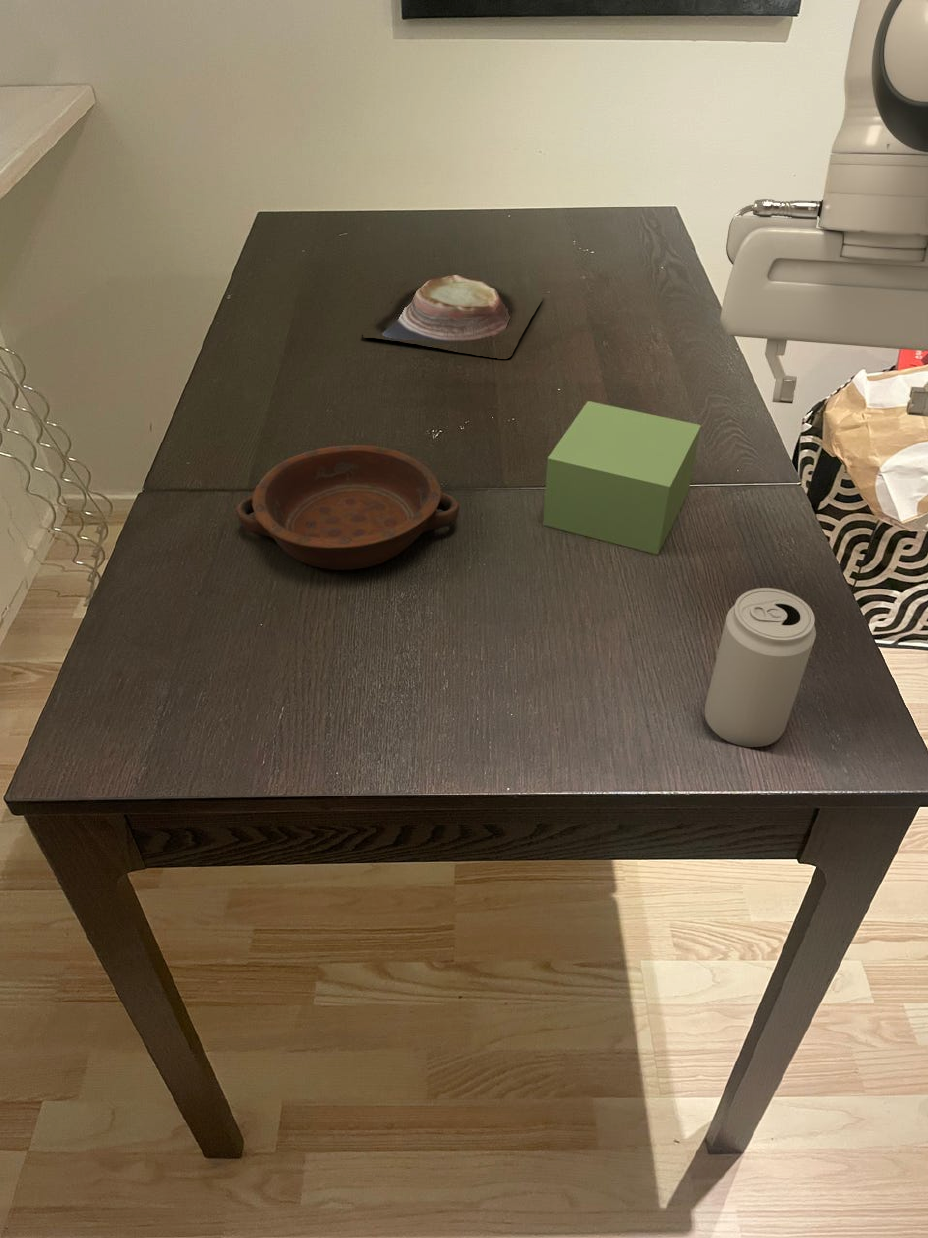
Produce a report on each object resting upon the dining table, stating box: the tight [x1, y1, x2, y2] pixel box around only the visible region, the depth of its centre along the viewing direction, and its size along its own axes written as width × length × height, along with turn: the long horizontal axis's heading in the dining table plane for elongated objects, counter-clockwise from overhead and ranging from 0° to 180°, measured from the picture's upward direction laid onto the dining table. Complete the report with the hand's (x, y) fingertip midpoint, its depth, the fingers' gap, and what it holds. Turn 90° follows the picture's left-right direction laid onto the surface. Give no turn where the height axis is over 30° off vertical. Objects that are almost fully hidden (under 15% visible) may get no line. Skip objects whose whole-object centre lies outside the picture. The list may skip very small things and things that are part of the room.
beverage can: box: [704, 587, 817, 748], centre depth 73 cm, size 6×6×12 cm
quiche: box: [382, 274, 510, 342], centre depth 131 cm, size 21×20×4 cm
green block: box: [542, 400, 702, 556], centre depth 96 cm, size 12×12×8 cm
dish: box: [236, 444, 460, 571], centre depth 94 cm, size 18×22×5 cm
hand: (848, 407), depth 70 cm, fingers open, 8 cm apart
